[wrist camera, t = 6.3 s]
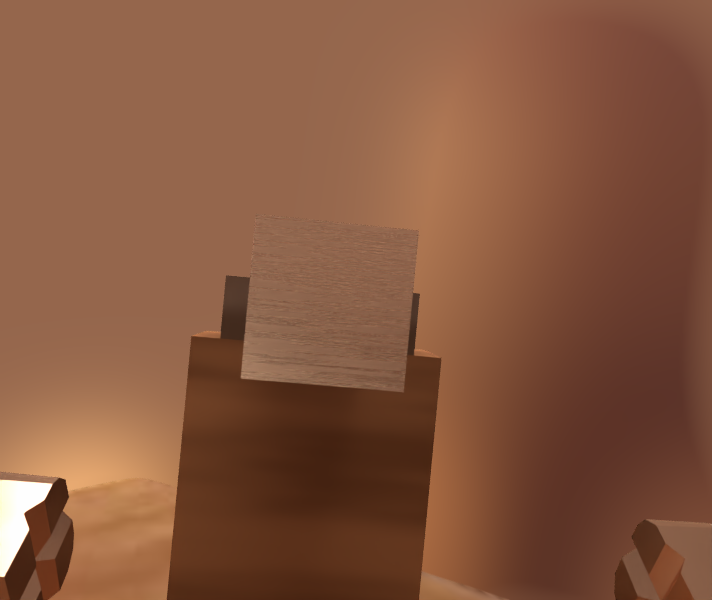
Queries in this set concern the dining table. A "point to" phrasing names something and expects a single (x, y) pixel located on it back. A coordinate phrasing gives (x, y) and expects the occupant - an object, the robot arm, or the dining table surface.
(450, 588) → the dining table surface
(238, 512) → the knife block
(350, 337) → the brushed square bar end
